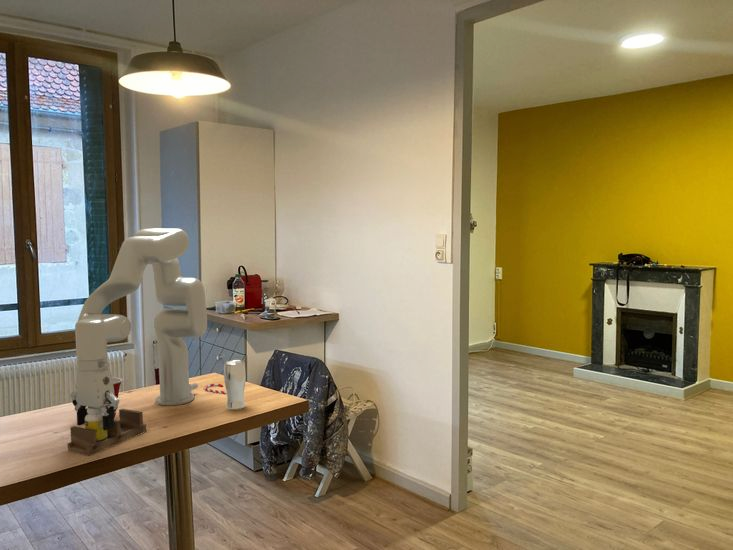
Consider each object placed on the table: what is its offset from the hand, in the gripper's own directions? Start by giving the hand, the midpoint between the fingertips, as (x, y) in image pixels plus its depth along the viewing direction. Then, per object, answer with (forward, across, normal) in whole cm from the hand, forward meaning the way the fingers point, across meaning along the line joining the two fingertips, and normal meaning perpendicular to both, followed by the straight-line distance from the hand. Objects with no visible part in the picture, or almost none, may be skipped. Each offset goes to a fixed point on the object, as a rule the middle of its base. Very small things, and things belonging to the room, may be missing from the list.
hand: (95, 426), depth 162 cm
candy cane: (+6, +4, -57) cm, 58 cm away
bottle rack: (+6, 0, -4) cm, 7 cm away
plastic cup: (+6, +18, -19) cm, 27 cm away
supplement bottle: (+4, 0, 0) cm, 5 cm away
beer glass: (+6, -14, -43) cm, 46 cm away
